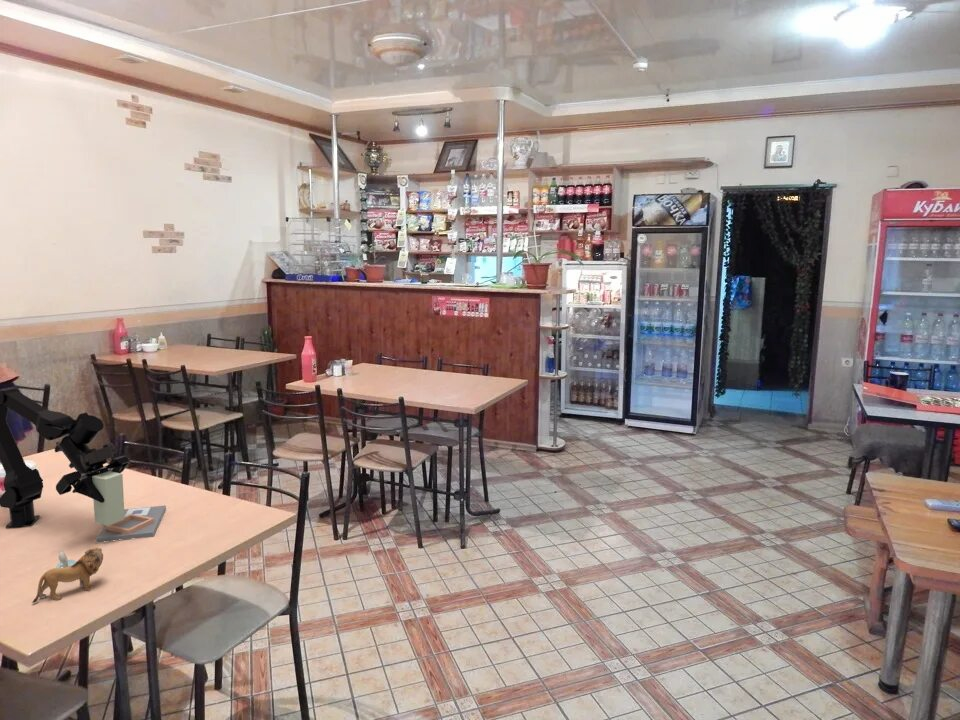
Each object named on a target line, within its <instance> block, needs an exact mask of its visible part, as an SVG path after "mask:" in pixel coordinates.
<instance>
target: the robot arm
mask: <svg viewBox="0 0 960 720" xmlns="http://www.w3.org/2000/svg"><path fill="white" fill-rule="evenodd" d="M9 409H10V410H11V411H13V412H14V413H16V414H18V415H19V416H20V417H22V418H24V419H25V420H27V421H29V422H30V423H31V424H33V425H34V426H35V430H36V432H37V433H38V434H39V435H40V436H41V437H42V438H44V439H45V440H47V441H53V440H57V439H59V438H60V439H61V438H62V439H61V440H58V441H57V442H55V444H56V445H55V448H54V452H55V453H59V452H62V453H63V454H64V456H65V457H66V458H67V460H68V461H69V464H68V467H69V468H70V469H73V468H74V470H75V471H72V472H70V473H66V474H63V476H62V477H60V479H59V481H58V482H57V483H56V484H55V491H56V492H57V493H58V494H59V496H62V495H65V494H68V493H71V491H72V494H76V493H77V494H79V495H83V496H86V497H88V498H90V499H92V500H93V501H94V500H96V501H99V502H101V503H103V502H104V501H105V500H104V498H103V496H102V495H101V493H100V492H99V491H98V489H97V488H96V487H95V485H94V484H93V479H92V477H93V476H96V475H99V474H102V473H105V472H108V471H111V472H116V473H120V474H122V473H123V472H124V470H126V468H127V467H128V466H129V465H130V464H131V460H130V458H129V457H128V456H127V455H121V456H117V457H115V456H114V454H116V453H118V449H117V447H116V445H115V444H114V443H113V442H109V443H106V444H104V445H102V448H99V449H96V448H91V447H90V445H88V444H90V443H92V442H93V441H94V440H95V438H96V437H97V436H98V435H99V434H100V432H101V431H102V430H103V428H104V426H105V425H104V422H103V420H102V419H100V418H98V417H97V416H95V415H90V414H88V413H87V412H86V411H85V412H82V413H79V414H78V415H77V418H76V419H75V418H73V417H72V416H70V415H68V414H66V413H64V412H60V411H55V410H50V409H47V408H45V407H44V406H42V405H41V404H39V403H38V402H36V401H35V400H33V399H31V398H30V397H29V396H27V395H25V394H23V393H22V392H20V390H19V388H16V387H9V388H3V389H0V463H1V465H2V469H3V470H4V473H5V475H4V479H3V488H4V492H3V494H2V495H1V496H0V508H6V509H8V512H9V519H10V521H9V522H8V523H7V524H6V525H5V529H8V528H9V529H10V528H19V527H20V528H21V527H30V526H33V525H34V524H35V523H36V522H37V521H38V520H39V518H40V517H41V515H36V514H35V507H34V506H35V505H34V501H35V500H38V499H40V498H41V497H42V493H43V488H44V483H43V481H44V480H43V478H42V476H41V475H40V472H39V469H37V468H30V467H29V466H28V465H27V464H26V462H25V460H24V457H23V455H22V453H21V450H20V448H19V447H18V443H17V442H16V439H15V437H14V435H13V433H12V430H11V428H10V427H9V424H8V422H7V416H8V413H9ZM110 458H111V460H110V462H109V463H107V462H108V459H110ZM105 464H107V465H105ZM72 488H73V489H72Z"/></svg>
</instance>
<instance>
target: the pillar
mask: <svg viewBox="0 0 960 720" xmlns="http://www.w3.org/2000/svg"><path fill="white" fill-rule="evenodd" d="M123 477H124V476H123V473H116V472H111V471H108V472H105V473H102V474H99V475H96V476H93V477H92V479H93V484H94V485H95V487H96V488H97V489H98V491H99V492H100V493H101V495H102V496H103V498H104V500H105V501H104V502H103V503H101V502H99V501H96V500H94V499H93V511H94V513H93V514H94V523H95V524H98V525H103V526H104V525H107V526H109V525H112V524H114V523H117V522H119V521H121V520H124V519H125V515H124V509H125V498H124V478H123Z"/></svg>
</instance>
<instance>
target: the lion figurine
mask: <svg viewBox="0 0 960 720" xmlns="http://www.w3.org/2000/svg"><path fill="white" fill-rule="evenodd" d="M102 551H103V550H102V547H98V546H92V547H89V548H88V549H86V550H85V551H84V554H83V555H82V556H81V557H80V558H79V559H78V560H77V561H76V563H75V564H74V565H72V566H69V567H65V568H63V567H60V568H56V567H53V568H51V569H49V570H48V569H47V570H46V571H45V572H44V573H43V574H42V576H41V577H40V579H39V581H38V587H37V591H36V592H37V593H36V596H35V598H33V601H32V602H31V603H32V604H35V603H37V602H38V600H39V599H44V598H46V597H47V594H45V593H44V592H45V590H47V589H48V588H49V590H50V592H49V595H50V596H51V598H53V599H54V600H56V601H59V600H62V596H61V595H57V593H56V590H57V588H58V585H59V582H62V583H73V582H75V581H78V580H79V586H80V588H84V589H85V591H88V590H89V591H91V589H92V590H93V587H92V586H90V582H91V580H90V579H91V578H90V577H92V576H93V575H95V574H96V573H97V572H98V571H99V569H100V567H101V566H102V564H103V560H104V554H103V552H102Z"/></svg>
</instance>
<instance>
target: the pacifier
mask: <svg viewBox="0 0 960 720" xmlns="http://www.w3.org/2000/svg"><path fill="white" fill-rule="evenodd" d="M58 560H59V562H58V563H57V565H56V566H55V568H65V567H69V566H72V565H74V564H75V563H76V562H77V561H75V560H72V559H68V557H67V555H66V553H65V552H64V550H62V551H60V552H59V555H58Z"/></svg>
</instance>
